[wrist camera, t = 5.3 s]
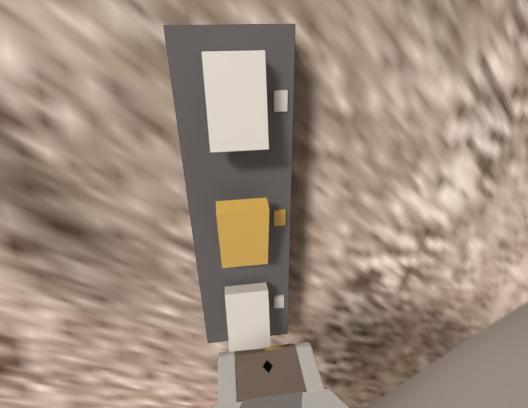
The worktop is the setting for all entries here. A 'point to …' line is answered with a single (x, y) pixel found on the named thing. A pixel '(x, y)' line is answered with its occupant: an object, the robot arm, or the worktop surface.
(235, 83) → the plate
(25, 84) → the worktop surface
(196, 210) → the power strip
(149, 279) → the worktop surface
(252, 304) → the block
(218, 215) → the block
